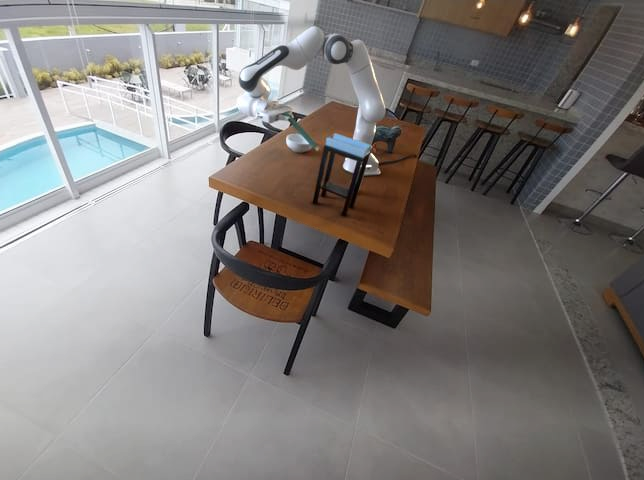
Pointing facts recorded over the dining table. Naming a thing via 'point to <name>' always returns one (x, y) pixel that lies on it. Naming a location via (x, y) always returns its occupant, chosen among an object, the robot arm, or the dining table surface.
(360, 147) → the tray
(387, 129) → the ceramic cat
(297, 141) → the cereal bowl
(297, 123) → the pencil
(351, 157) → the stool
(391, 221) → the dining table surface
